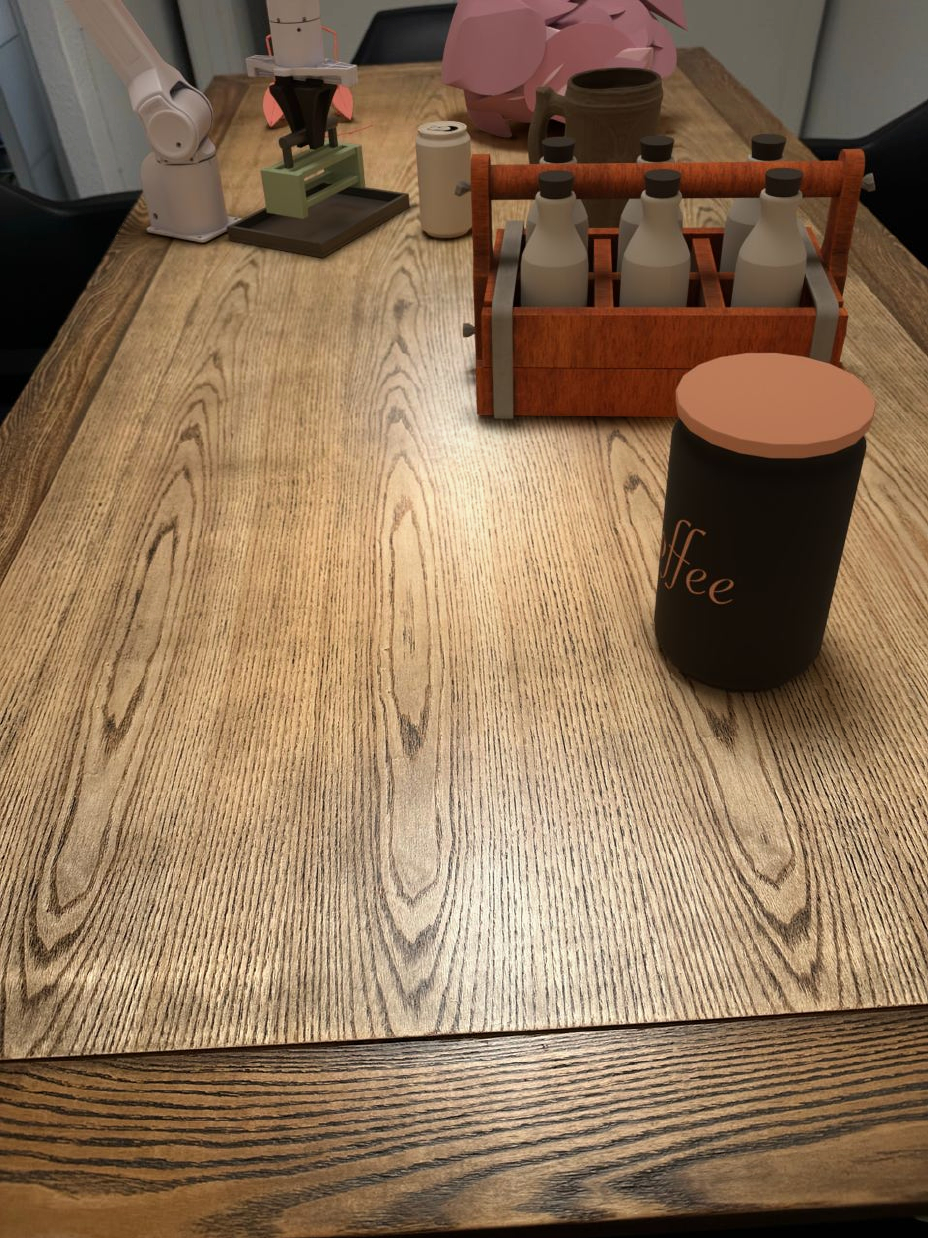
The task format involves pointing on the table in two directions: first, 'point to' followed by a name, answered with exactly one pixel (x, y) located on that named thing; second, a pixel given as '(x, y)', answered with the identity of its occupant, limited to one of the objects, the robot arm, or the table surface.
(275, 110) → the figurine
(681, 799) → the table surface
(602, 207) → the beer stein
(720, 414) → the coffee jar
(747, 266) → the milk bottle holder
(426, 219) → the beverage can
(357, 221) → the tray
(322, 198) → the green tool caddy
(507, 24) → the flower arrangement
